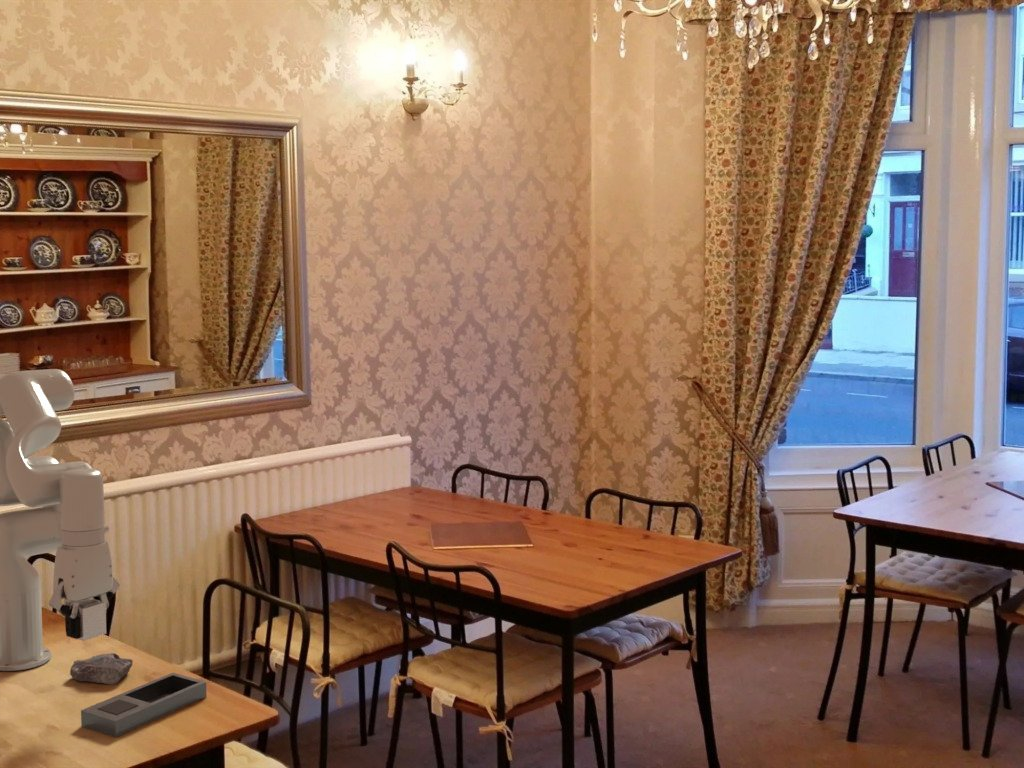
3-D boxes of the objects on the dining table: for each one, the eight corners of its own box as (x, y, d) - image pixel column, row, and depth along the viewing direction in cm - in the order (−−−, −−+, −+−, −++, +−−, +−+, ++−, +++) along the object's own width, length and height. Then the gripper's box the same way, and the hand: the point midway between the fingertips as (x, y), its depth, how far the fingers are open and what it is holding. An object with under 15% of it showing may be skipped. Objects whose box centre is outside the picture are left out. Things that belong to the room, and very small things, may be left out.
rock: (82, 669, 240) (82, 648, 239) (137, 672, 239) (136, 650, 238) (64, 684, 232) (64, 662, 231) (121, 687, 231) (120, 665, 230)
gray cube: (66, 635, 215) (64, 603, 215) (88, 628, 220) (87, 596, 219) (83, 641, 213) (82, 608, 212) (106, 633, 217) (105, 601, 216)
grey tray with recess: (81, 726, 212) (80, 709, 211) (173, 687, 231) (172, 672, 230) (115, 737, 207) (115, 720, 207) (206, 696, 226) (206, 681, 226)
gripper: (108, 524, 223) (110, 617, 225) (29, 543, 209) (33, 642, 211) (134, 530, 219) (137, 624, 221) (56, 549, 205) (59, 650, 207)
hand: (86, 631), depth 216 cm, fingers closed on gray cube, 5 cm apart
